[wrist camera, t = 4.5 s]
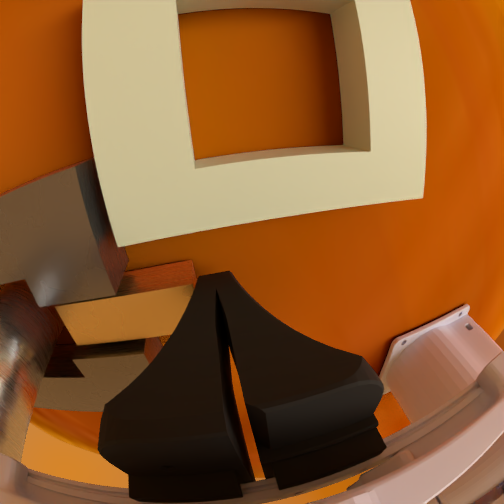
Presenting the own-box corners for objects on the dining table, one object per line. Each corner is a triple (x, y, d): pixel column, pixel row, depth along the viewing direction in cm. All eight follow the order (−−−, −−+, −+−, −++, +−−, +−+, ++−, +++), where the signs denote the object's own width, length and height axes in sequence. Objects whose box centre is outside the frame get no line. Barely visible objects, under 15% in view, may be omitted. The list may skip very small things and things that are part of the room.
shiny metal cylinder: (44, 267, 10) (-44, 431, 2) (77, 332, 12) (38, 489, 4) (-4, 279, 9) (-81, 407, 1) (28, 336, 11) (-17, 464, 3)
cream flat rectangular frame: (379, -7, 7) (404, -17, 5) (395, 185, 12) (423, 198, 10) (100, -4, 5) (85, -23, 4) (129, 225, 10) (118, 247, 8)
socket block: (101, 155, 9) (74, 166, 6) (175, 372, 14) (175, 408, 12) (-57, 226, 7) (-81, 245, 5) (27, 378, 13) (18, 404, 10)
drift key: (192, 259, 11) (192, 283, 9) (202, 302, 12) (204, 329, 10) (68, 282, 10) (54, 306, 9) (87, 319, 11) (77, 345, 10)
